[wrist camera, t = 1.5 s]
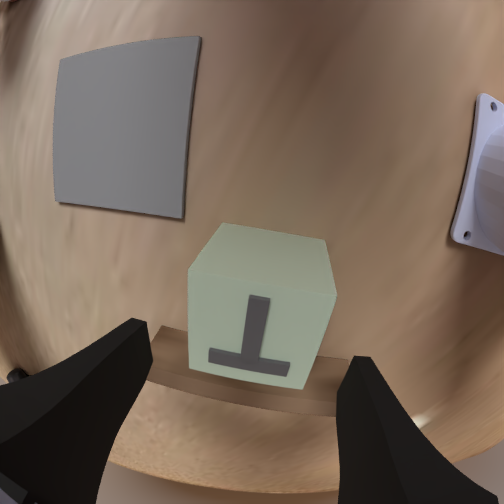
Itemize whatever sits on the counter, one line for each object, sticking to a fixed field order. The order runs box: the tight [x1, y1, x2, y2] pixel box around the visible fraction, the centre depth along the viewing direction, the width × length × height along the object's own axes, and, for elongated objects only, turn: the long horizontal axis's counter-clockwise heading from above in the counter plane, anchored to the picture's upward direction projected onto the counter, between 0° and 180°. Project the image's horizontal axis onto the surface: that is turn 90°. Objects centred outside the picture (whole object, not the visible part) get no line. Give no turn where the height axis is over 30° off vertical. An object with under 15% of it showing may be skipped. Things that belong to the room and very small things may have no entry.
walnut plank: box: [146, 326, 349, 417], centre depth 16 cm, size 12×2×4 cm, turn 83°
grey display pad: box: [53, 36, 201, 219], centre depth 12 cm, size 9×9×1 cm
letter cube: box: [188, 222, 337, 390], centre depth 12 cm, size 5×5×5 cm
